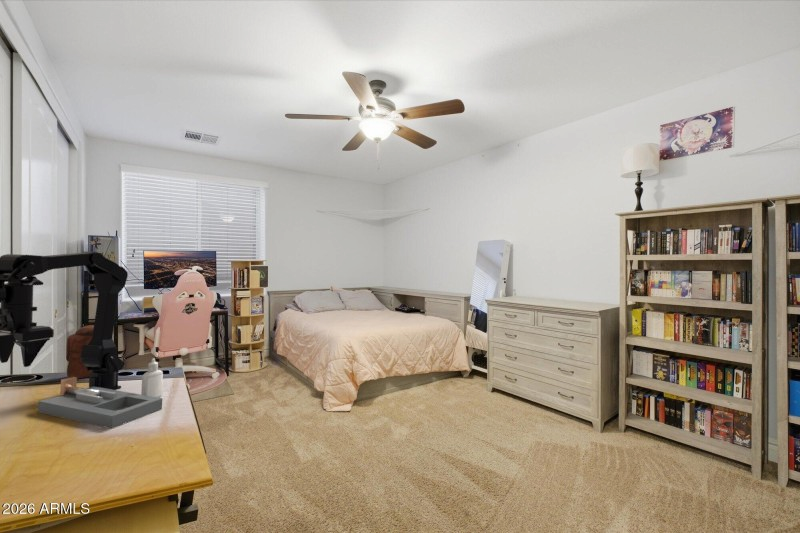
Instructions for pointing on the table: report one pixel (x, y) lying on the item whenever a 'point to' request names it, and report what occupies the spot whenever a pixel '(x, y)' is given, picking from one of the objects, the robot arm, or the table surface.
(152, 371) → the eye dropper bottle
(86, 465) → the table surface
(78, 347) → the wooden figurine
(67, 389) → the lock pin
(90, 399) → the dock block
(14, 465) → the table surface
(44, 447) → the table surface
